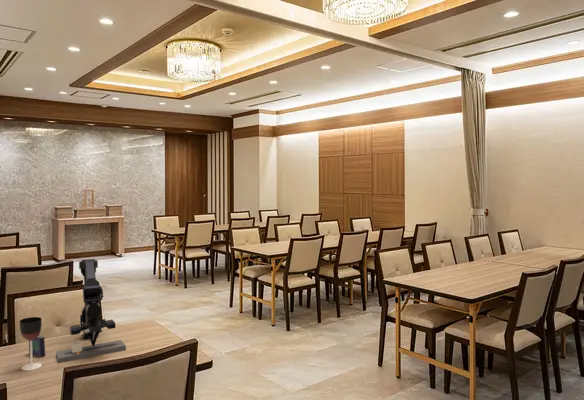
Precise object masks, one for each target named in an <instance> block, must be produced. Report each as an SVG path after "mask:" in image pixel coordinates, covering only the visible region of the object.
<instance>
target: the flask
mask: <svg viewBox="0 0 584 400" xmlns="http://www.w3.org/2000/svg"><path fill="white" fill-rule="evenodd" d="M28 355H29V356H30V340H28ZM32 356H34V357H38V358H44V357H46V344H45V336H44V335H42V334H41V333H40V334H39V336H38V337H36V338H35V339H33V340H32Z"/></svg>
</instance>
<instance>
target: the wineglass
mask: <svg viewBox="0 0 584 400" xmlns="http://www.w3.org/2000/svg"><path fill="white" fill-rule="evenodd" d="M42 323H43V322H42V317H38V316H32V317H26V318H22V319H20V320H19V331H20V334H21V337H22V338H23V339H25V340H27V341H29V340H30V355H29V356H30V364H26V365H23V366H22V367H21V370H22V371H33V370H37V369H39V368H41V367H42V366H43V365H42V363H41V362H40V363H38V362H36V363H35V362H33V359H34V357H33V355H32V340H33V339H35V338H36V337H38V336H39V334H40V335H41V329H42Z"/></svg>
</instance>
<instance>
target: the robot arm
mask: <svg viewBox="0 0 584 400" xmlns="http://www.w3.org/2000/svg"><path fill="white" fill-rule="evenodd" d="M98 263H99V262H98V259H97V260H96V259H95V258H89V259H81V260H80V261H79V262H78V269H79V270H80V273H81V275H82V276H83V286H84V287H83V288H82V298H83V300H82V301H83V303H84V306H83V308H82V309H81V314H79V324H75V325H71V326H70V327H69V333H70V335H71V336H74V335H75V336H76V335H80V334H81V332H82V334H81V338H82V339H83V340H88V339H89V340H90V345H92V346H94V345H95V344H96V342H97V338H98V337H99V335H100V333H102V332H103V330H102V329H103V328H106V329H108V330H111V329H112V330H113V329H116V322H115V321H114V320H113V319H109V320H108V319H106V318H103V319H102V318H100V317H101V316H100V315H101V314H102V307H101V305H100V301H103V298H104V291H103V288H102V286H101V285H100V281H98V279H96V273H97V268H99V266H98Z"/></svg>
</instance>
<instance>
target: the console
mask: <svg viewBox="0 0 584 400" xmlns="http://www.w3.org/2000/svg"><path fill="white" fill-rule="evenodd" d="M126 349H127V346H126V344H125V343H124V342H123V340H122V339H118V340H113V341H107V342H102V343H95V345H94V346H92V344H89V345H84V346H82V351H81V352H75V353H72V351H71V348H68V349H62V350H58V351H56V352H55V356H56V359H57V362H58V363H59V364H60V363H66V362H70V361H76V360H81V359H87V358H91V357H97V356H103V355H106V354H107V355H108V354H112V353H116V352H122V351H126Z"/></svg>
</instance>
